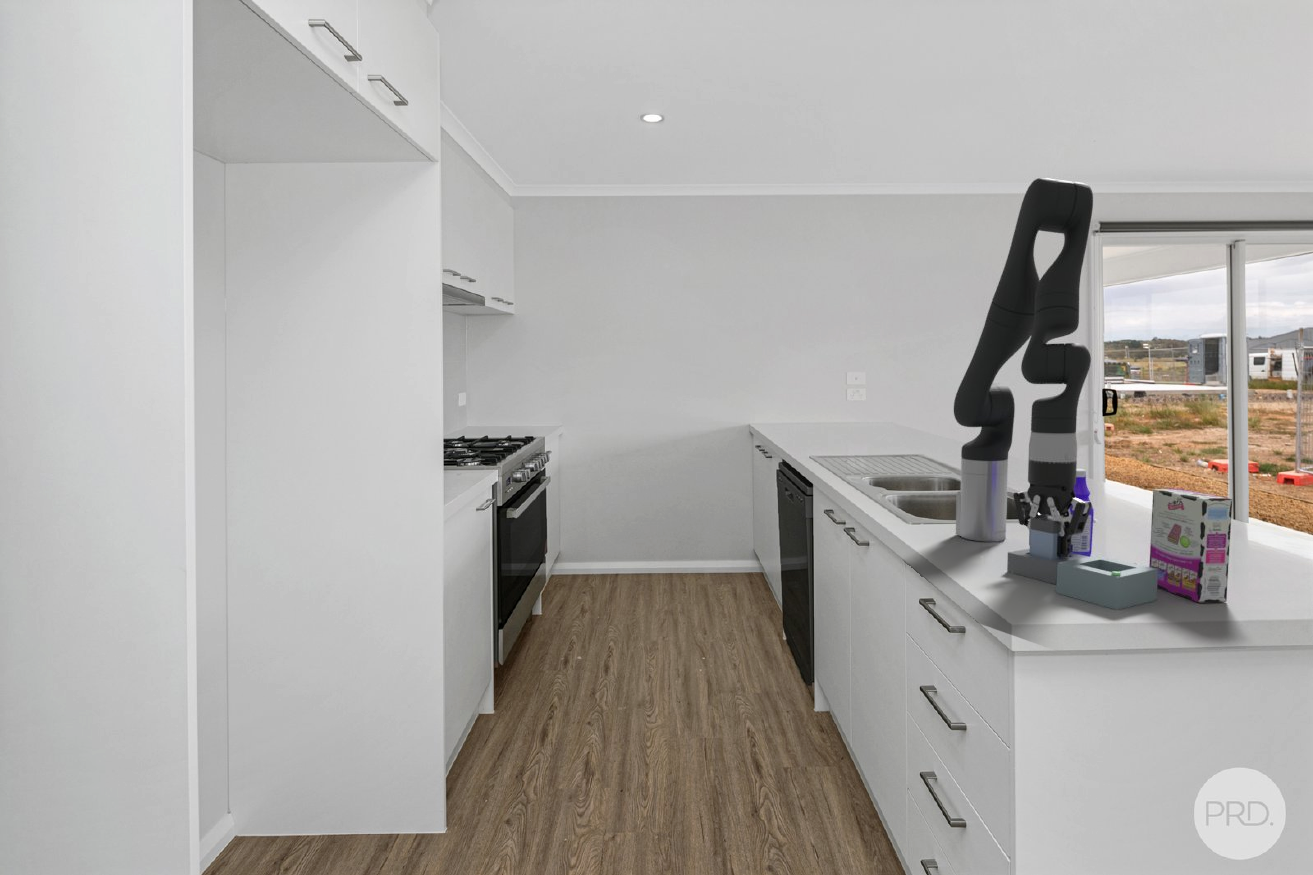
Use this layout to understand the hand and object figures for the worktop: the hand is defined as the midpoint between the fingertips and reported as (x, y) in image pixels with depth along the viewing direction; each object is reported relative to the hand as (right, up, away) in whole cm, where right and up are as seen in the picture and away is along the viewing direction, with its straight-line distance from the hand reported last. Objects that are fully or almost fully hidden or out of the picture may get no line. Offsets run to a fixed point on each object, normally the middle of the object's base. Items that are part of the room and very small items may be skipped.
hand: (1049, 553), depth 135 cm
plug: (0, -4, 0) cm, 4 cm away
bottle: (+9, -3, +11) cm, 14 cm away
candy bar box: (+16, -5, -12) cm, 21 cm away
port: (+2, -5, -13) cm, 14 cm away
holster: (0, -4, 0) cm, 4 cm away
